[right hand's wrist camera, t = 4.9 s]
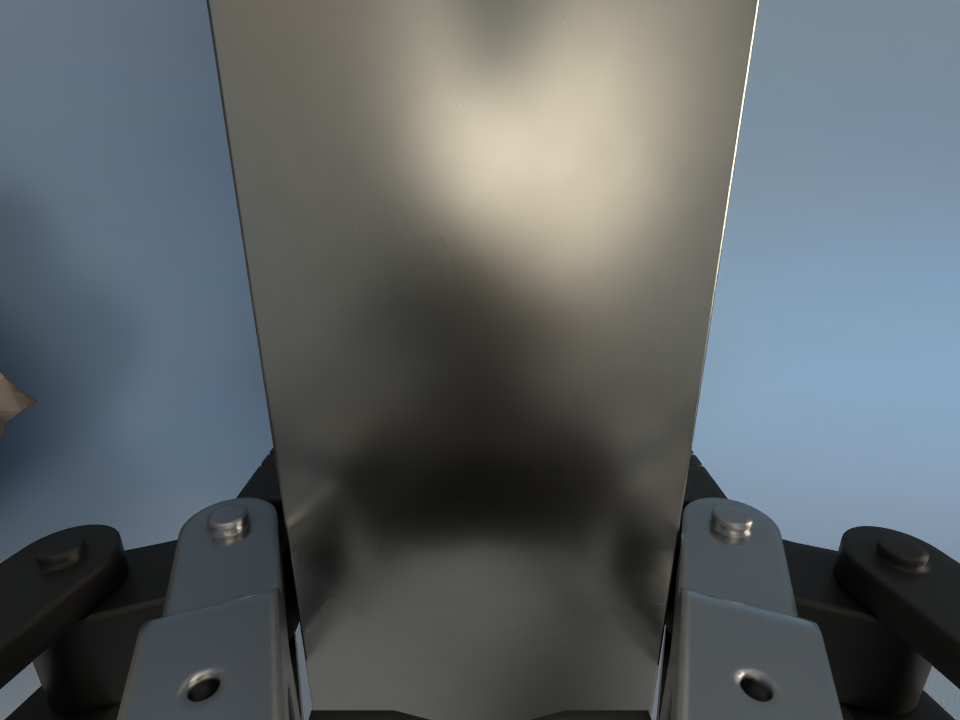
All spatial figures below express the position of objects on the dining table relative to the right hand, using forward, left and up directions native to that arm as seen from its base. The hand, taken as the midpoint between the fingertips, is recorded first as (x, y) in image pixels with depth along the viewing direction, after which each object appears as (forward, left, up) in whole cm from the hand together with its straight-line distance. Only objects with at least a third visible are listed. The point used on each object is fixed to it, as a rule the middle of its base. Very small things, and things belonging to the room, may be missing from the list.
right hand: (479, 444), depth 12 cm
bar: (+9, +5, -4) cm, 11 cm away
